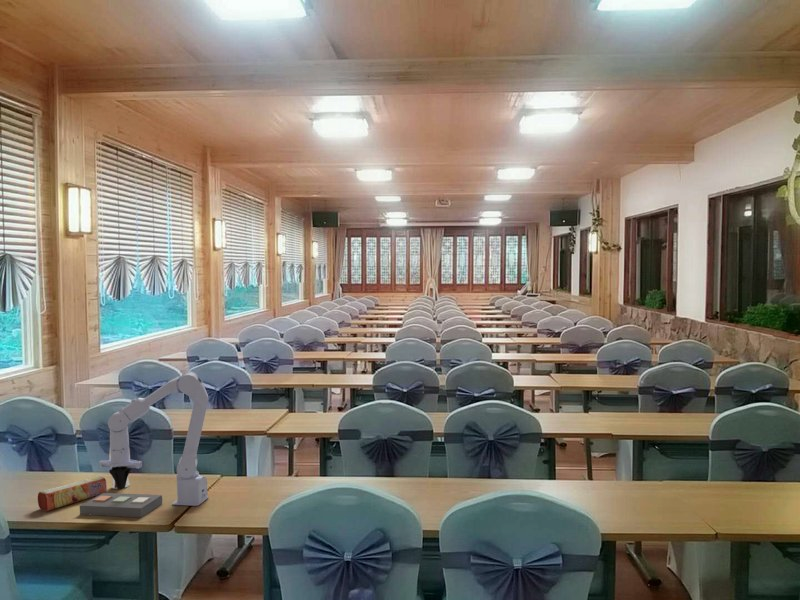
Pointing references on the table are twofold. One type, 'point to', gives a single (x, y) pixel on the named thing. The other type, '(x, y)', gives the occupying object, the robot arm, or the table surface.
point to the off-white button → (140, 500)
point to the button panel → (121, 506)
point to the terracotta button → (102, 499)
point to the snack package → (71, 493)
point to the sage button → (121, 499)
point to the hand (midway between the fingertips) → (121, 488)
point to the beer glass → (114, 480)
